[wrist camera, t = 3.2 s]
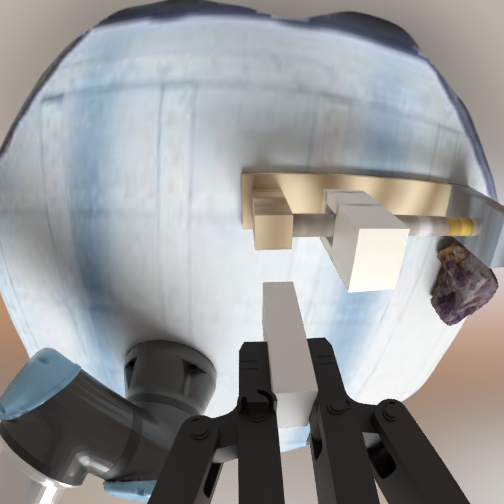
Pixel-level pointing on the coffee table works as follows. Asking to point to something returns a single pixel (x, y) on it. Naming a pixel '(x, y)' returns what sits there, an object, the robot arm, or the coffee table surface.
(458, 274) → the rock
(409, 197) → the rail
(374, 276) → the sleeve
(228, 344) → the coffee table surface
